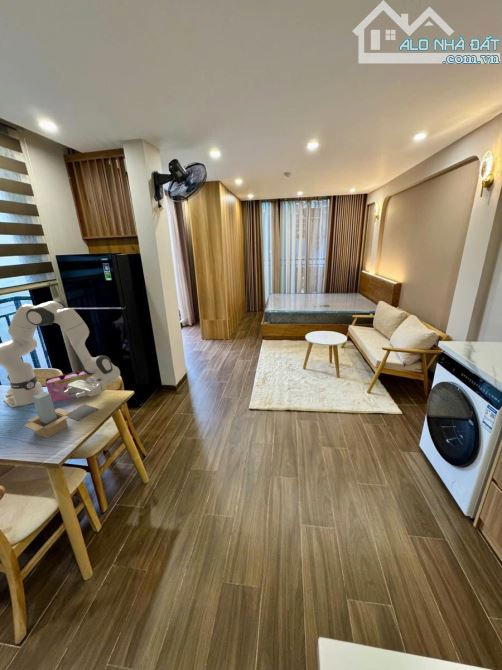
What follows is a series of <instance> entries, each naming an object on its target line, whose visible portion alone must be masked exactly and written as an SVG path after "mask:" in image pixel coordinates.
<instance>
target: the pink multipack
mask: <svg viewBox="0 0 502 670" xmlns="http://www.w3.org/2000/svg"><path fill="white" fill-rule="evenodd" d="M90 376H93V375H89V374H86V373H85V372H84V371H83V369H82V370H78V371H74V372H71V373H65V374H62V375H57V376H54V377H47V378H45V385H46V388H47V393H50V395H51V398H52V402H53V404H54V403H59V402H61V401H64V400H68V399H72V398H76V397H75V394H77V392H74V391H70V392H69V394H64V391H65V390H67V389H68V387H67V385H68V384H69V383H72V382H74V381H77V380H85V381H86V379H87V378H88V377H90Z"/></svg>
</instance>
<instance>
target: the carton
mask: <svg viewBox="0 0 502 670" xmlns="http://www.w3.org/2000/svg"><path fill="white" fill-rule="evenodd" d="M55 413H56V416H57V420H56V421H54V422H52V423H50V424H48V425H46V426H45V427H43V426H41V423H40V419H39V416H38V415H36V416H34V417H32V418H30V419H27V422H29V423H27V424H24V425H23V426H24V427H25V428H28V429H29V430H31V431H33V432H34V434H36V435H37V436H38V435H39V436H40V437H42V438H45V439H48V438H50V437H52V436H54V435H55V434H57V433H58V432H59V433H60V431H62V430H64V429H66V428H68V427H69V426H68V421H67V419H70V418H69V417H68V416H66V415H68V414H70V413H71V411H68V410H66V409H62V408H58V407H57V408H56V409H55Z"/></svg>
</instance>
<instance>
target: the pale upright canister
mask: <svg viewBox="0 0 502 670" xmlns="http://www.w3.org/2000/svg"><path fill="white" fill-rule="evenodd" d="M33 400H34V403H33V404H34V406H35V409H36V413H37V416H39V419H40V423H41V426H43V427H45V426H46V425H48V424H50V423H52V422H54V421H56V420H57V416H56V413H55V410H56V409H55V406H54V403H53V402H52V398H51V395H50V393H49V392H48V391H46V392H42V393H40V394H37V395H35V396H33Z"/></svg>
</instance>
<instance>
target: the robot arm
mask: <svg viewBox="0 0 502 670" xmlns="http://www.w3.org/2000/svg"><path fill="white" fill-rule="evenodd" d="M54 323H55V324H58V325H59V326H60V328H61V329H62V331H63V332H64V333H65V335H66V337H67V338H68V340H69V343H70V346H71V347H72V350H73V351H74V354H75V355H76V356H77V358H78V360H79V363H80V364H81V369H82V370H83V371H84V372H85V373H86V374H89V375H92V376H90V377H88V378H87V379H86V381H85V380H77V381H74V382H72V383H69V384H68V385H67V387H68V389H67V390H65V391H64V394H69V392H70V391H74V392H77V394H75V397H74V398H76V399H78V398H80V397H86V396H89V397H94V396H96V395H98V394H100V393H102V392H105V391H106V385H110V384H112V383H113V382H115V381H117V380H118V379H119V377H120V376H121V371H120V368H119V367H118V366H115V364H113V362H112V361H111V358H109V356H106V355H102V354H101V355H98V356H96V357H95V356H94V357H93V356H92V355H91V354H90V352H89V350H88V348H87V347H86V340H87V339H88V337H89V336H90V330H89V327H88V325H87V324H86V322H85V321H84V320H83V318H82V317H81V316H80V315H79V314H78V312H77V311H76V310H75V309H74V308H71V307H67V305H66V304H65V303H64V302H62V301H61V300H54V299H53V300H50V301H46V302H42V303H40V304H37V305H34V304H30V303H29V304H28V303H27V304H23V305H20V306H19V307H18V308H17V310H16V312H15V313H14V315H13V318H12V320H11V321H10V324H9V327H8V329H7V332H8V334H9V335H10V337H11V338H10V339H9V340H6V341H3V342H0V366H2V367H3V368H4V369H5V370H6V372H7V374H8V377H9V386H10V387H9V389H7V390H6V394H5V398H3V402H5V403H6V404H7V405H8V406H9V407H10V408H15V407H23V406H27V405H30V404H35V403H34V400H33V396H35V395H37V394H40V393H42V392H47V391H46V390H44V389H43V386H42V384H41V382H39V381H38V378H37V376H36V375H35V372H34V369H33V365H32V364H31V363H29V362H24V360H23V359H22V357H23V356H26V355H28V354H31V353H32V352H33V351H34V350H36V348H37V347H38V342H37V340H36V339H35V338H34V334H35V332H36V330H37V327H39V326H49V325H50V326H52V325H53V324H54Z"/></svg>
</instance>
